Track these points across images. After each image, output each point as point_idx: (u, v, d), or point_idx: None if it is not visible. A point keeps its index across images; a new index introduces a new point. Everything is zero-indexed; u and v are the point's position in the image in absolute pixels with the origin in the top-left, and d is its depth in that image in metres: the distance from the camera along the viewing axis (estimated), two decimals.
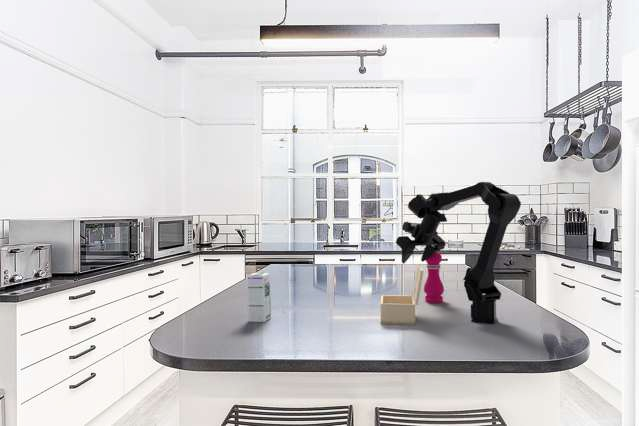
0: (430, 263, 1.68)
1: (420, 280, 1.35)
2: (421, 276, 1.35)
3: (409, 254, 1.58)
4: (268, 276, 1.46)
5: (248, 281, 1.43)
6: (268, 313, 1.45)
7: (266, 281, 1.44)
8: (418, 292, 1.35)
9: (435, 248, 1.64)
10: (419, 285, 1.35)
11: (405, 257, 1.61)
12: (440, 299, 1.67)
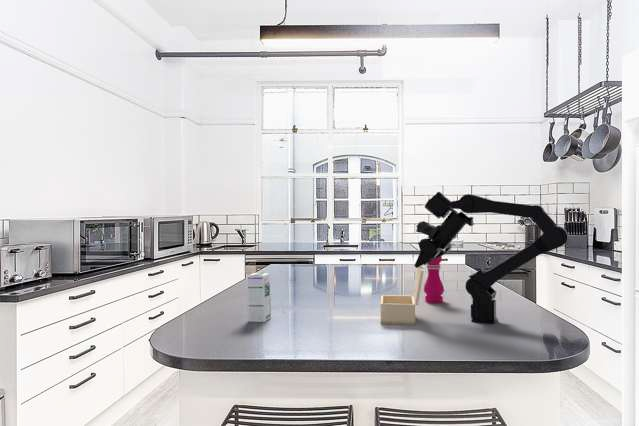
0: (430, 263, 1.68)
1: (420, 280, 1.35)
2: (421, 276, 1.35)
3: (432, 259, 1.41)
4: (268, 276, 1.46)
5: (248, 281, 1.43)
6: (268, 313, 1.45)
7: (266, 281, 1.44)
8: (418, 292, 1.35)
9: (442, 251, 1.51)
10: (419, 285, 1.35)
11: (423, 261, 1.43)
12: (440, 299, 1.67)
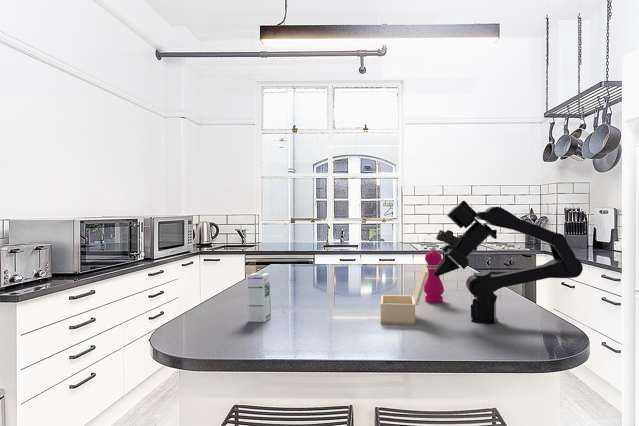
0: (430, 263, 1.68)
1: (423, 281, 1.35)
2: (425, 277, 1.35)
3: None
4: (268, 276, 1.46)
5: (248, 281, 1.43)
6: (268, 313, 1.45)
7: (266, 281, 1.44)
8: (420, 293, 1.35)
9: None
10: (422, 286, 1.35)
11: (446, 271, 1.39)
12: (440, 299, 1.67)
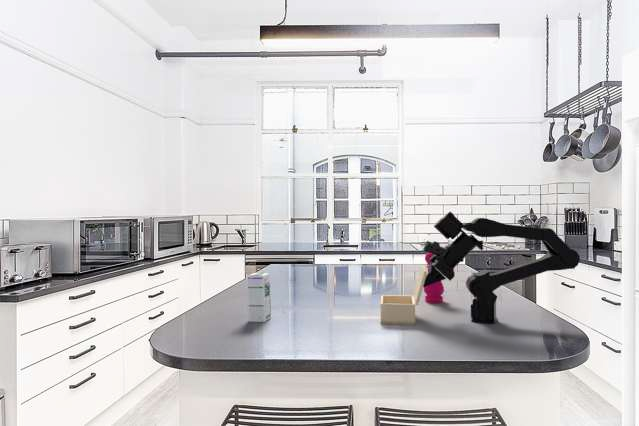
0: None
1: (423, 281, 1.35)
2: (424, 277, 1.35)
3: None
4: (268, 276, 1.46)
5: (248, 281, 1.43)
6: (268, 313, 1.45)
7: (266, 281, 1.44)
8: (419, 292, 1.35)
9: None
10: (421, 286, 1.35)
11: (432, 281, 1.40)
12: (440, 299, 1.67)
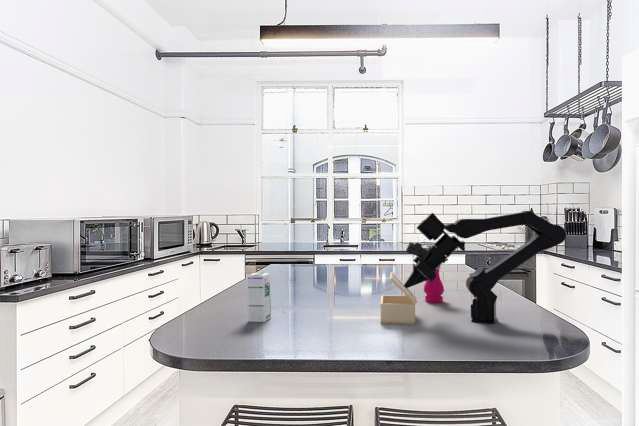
0: None
1: (398, 285, 1.36)
2: (395, 282, 1.36)
3: (424, 280, 1.40)
4: (268, 276, 1.46)
5: (248, 281, 1.43)
6: (268, 313, 1.45)
7: (266, 281, 1.44)
8: (406, 294, 1.36)
9: None
10: (401, 289, 1.36)
11: (415, 282, 1.41)
12: (440, 299, 1.67)
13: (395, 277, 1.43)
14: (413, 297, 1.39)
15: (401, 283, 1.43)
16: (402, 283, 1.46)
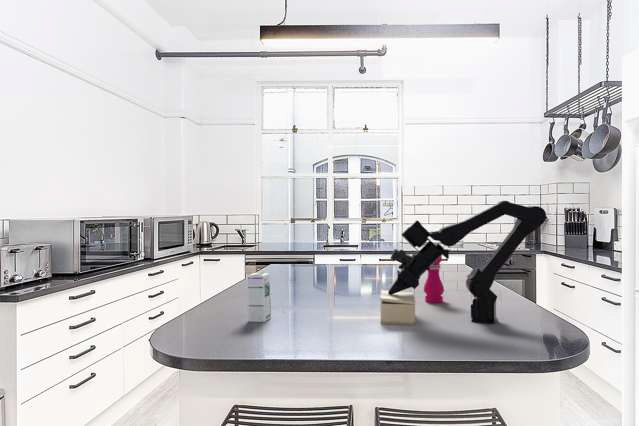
0: None
1: (390, 300, 1.37)
2: (385, 299, 1.37)
3: (408, 287, 1.41)
4: (268, 276, 1.46)
5: (248, 281, 1.43)
6: (268, 313, 1.45)
7: (266, 281, 1.44)
8: (402, 301, 1.36)
9: None
10: (395, 301, 1.36)
11: (399, 289, 1.42)
12: (440, 299, 1.67)
13: (385, 294, 1.44)
14: (410, 299, 1.39)
15: (393, 294, 1.43)
16: (395, 293, 1.46)
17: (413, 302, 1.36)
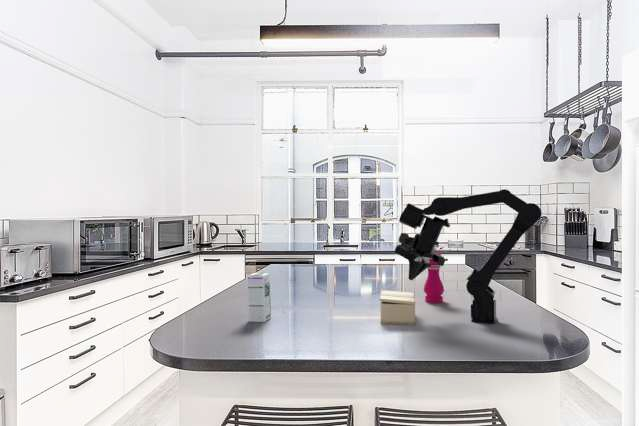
0: (430, 263, 1.68)
1: (390, 300, 1.37)
2: (385, 300, 1.37)
3: (419, 266, 1.44)
4: (268, 276, 1.46)
5: (248, 281, 1.43)
6: (268, 313, 1.45)
7: (266, 281, 1.44)
8: (402, 302, 1.36)
9: (426, 263, 1.46)
10: (395, 301, 1.36)
11: (414, 271, 1.46)
12: (440, 299, 1.67)
13: (385, 294, 1.44)
14: (410, 299, 1.39)
15: (393, 295, 1.43)
16: (395, 293, 1.46)
17: (413, 302, 1.36)
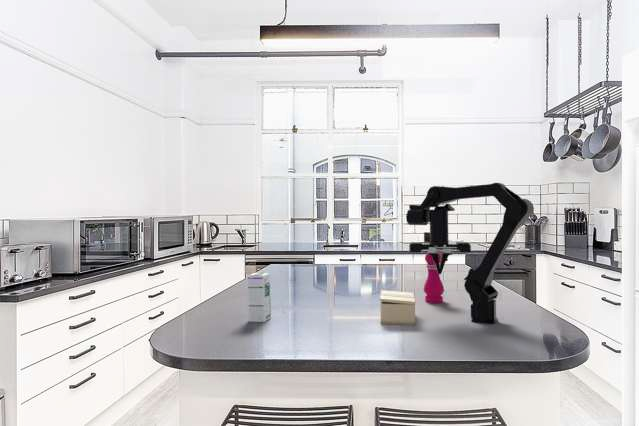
0: (430, 263, 1.68)
1: (390, 300, 1.37)
2: (385, 300, 1.37)
3: (434, 256, 1.46)
4: (268, 276, 1.46)
5: (248, 281, 1.43)
6: (268, 313, 1.45)
7: (266, 281, 1.44)
8: (402, 302, 1.36)
9: (445, 252, 1.46)
10: (395, 301, 1.36)
11: (435, 264, 1.47)
12: (440, 299, 1.67)
13: (385, 294, 1.44)
14: (410, 299, 1.39)
15: (393, 295, 1.43)
16: (395, 293, 1.46)
17: (413, 302, 1.36)
